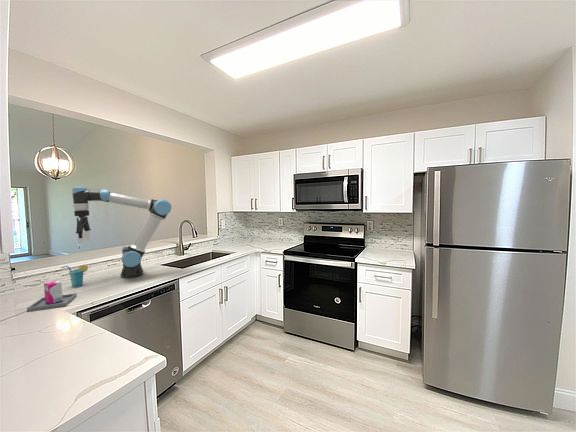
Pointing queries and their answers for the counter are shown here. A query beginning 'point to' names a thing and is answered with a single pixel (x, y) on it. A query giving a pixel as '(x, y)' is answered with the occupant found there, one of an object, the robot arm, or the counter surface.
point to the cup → (77, 275)
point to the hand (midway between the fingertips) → (84, 241)
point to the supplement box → (53, 292)
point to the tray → (42, 305)
